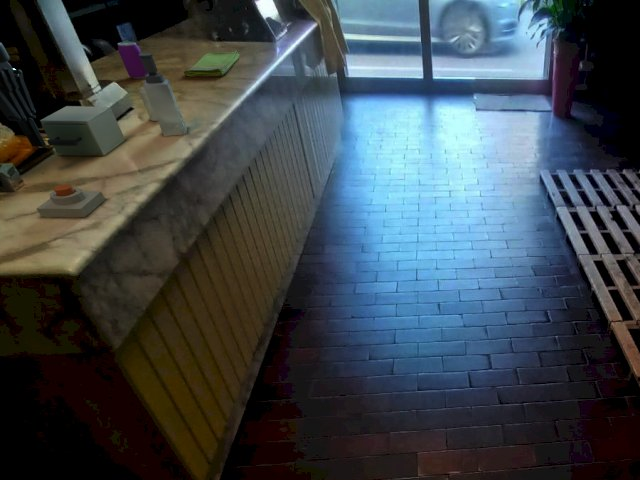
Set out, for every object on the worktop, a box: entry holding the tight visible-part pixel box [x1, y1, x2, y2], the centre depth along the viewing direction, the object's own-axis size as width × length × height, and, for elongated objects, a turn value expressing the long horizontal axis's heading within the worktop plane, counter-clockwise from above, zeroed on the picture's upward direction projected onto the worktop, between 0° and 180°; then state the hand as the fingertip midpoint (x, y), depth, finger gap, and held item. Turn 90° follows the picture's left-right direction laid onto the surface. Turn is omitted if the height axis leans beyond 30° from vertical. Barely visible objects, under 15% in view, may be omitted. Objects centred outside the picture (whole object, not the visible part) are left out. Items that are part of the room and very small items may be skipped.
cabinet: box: [39, 105, 126, 157], centre depth 153 cm, size 14×13×10 cm
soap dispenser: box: [139, 52, 187, 137], centre depth 162 cm, size 6×9×22 cm
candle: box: [138, 85, 158, 122], centre depth 174 cm, size 6×6×10 cm
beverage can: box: [117, 41, 148, 80], centre depth 209 cm, size 8×8×12 cm
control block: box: [36, 186, 106, 218], centre depth 126 cm, size 10×10×4 cm
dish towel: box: [183, 50, 240, 78], centre depth 228 cm, size 15×36×3 cm, turn 10°
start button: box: [53, 183, 75, 196], centre depth 125 cm, size 4×4×2 cm
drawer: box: [41, 124, 100, 155], centre depth 151 cm, size 17×11×8 cm
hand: (39, 145), depth 137 cm, fingers closed
